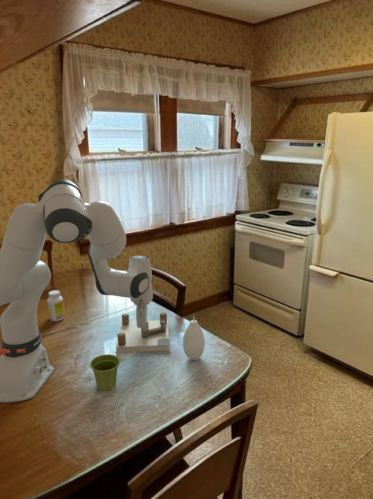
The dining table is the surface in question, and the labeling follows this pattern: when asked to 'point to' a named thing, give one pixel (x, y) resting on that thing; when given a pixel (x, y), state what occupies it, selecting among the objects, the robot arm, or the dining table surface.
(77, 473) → the dining table surface
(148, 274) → the robot arm
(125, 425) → the dining table surface
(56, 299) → the supplement bottle
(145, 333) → the swing leg
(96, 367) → the plant pot
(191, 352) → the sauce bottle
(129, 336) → the stool seat
